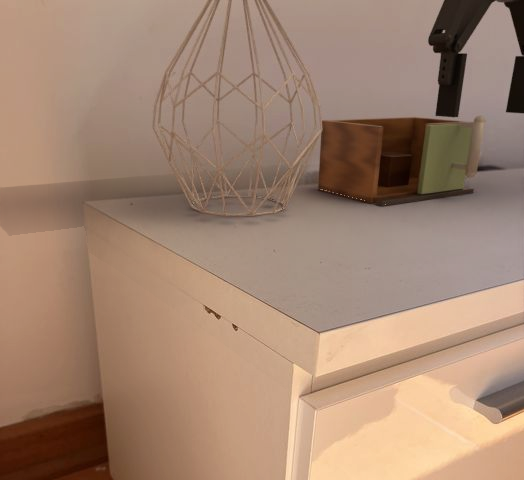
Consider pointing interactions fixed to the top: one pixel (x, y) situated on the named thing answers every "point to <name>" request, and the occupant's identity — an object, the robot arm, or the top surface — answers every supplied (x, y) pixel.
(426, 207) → the top surface
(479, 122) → the sliding door
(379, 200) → the box
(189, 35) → the table lamp
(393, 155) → the block
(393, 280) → the top surface
